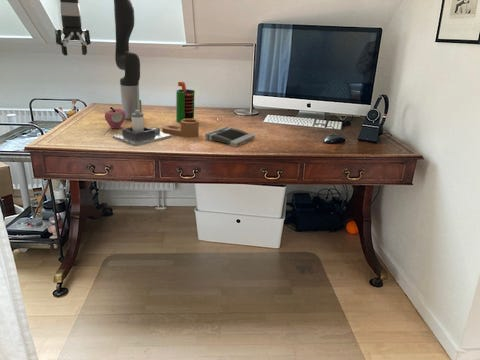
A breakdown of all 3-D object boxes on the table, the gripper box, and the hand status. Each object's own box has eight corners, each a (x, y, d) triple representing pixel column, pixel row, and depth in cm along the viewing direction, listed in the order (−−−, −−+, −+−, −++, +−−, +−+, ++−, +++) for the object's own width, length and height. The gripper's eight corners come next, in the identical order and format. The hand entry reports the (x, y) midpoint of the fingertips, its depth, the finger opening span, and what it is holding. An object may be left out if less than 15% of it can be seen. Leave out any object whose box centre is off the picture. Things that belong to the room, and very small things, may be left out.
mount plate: (149, 129, 186) (149, 121, 185) (171, 137, 177) (171, 128, 175) (112, 137, 172) (112, 128, 171) (134, 145, 163) (133, 136, 161)
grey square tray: (226, 126, 189) (255, 129, 181) (226, 135, 190) (255, 139, 182) (205, 133, 175) (235, 137, 167) (205, 143, 177) (236, 147, 169)
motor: (190, 123, 201) (190, 84, 193) (173, 122, 202) (172, 83, 194) (196, 119, 210) (196, 81, 202) (180, 117, 211) (179, 80, 204)
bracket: (201, 134, 184) (201, 120, 182) (193, 138, 177) (193, 124, 174) (167, 129, 190) (167, 115, 187) (158, 133, 182) (158, 119, 180)
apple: (106, 130, 181) (105, 109, 178) (104, 126, 189) (102, 105, 185) (127, 129, 185) (126, 108, 182) (124, 124, 193) (123, 104, 189)
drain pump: (139, 133, 176) (138, 108, 172) (146, 136, 173) (145, 110, 169) (130, 135, 173) (128, 110, 168) (137, 138, 170) (135, 112, 165)
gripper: (58, 14, 156) (63, 56, 162) (91, 15, 166) (94, 55, 172) (49, 13, 160) (54, 54, 166) (82, 15, 170) (85, 53, 176)
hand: (75, 55), depth 169 cm, fingers open, 8 cm apart
